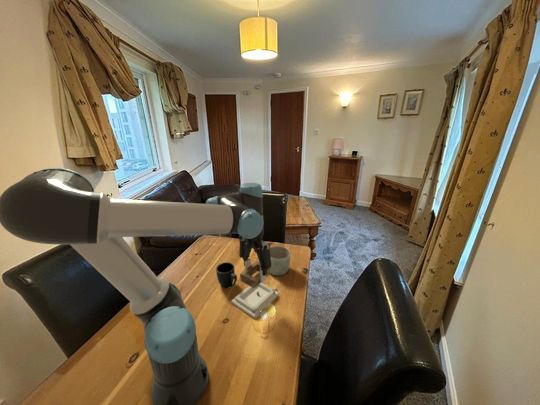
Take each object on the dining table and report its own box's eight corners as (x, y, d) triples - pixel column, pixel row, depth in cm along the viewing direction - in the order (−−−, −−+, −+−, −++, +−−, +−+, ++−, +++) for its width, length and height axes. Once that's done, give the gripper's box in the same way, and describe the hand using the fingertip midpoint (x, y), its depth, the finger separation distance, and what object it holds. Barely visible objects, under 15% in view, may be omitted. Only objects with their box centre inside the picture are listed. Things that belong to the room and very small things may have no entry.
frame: (254, 288, 80) (253, 280, 79) (240, 281, 84) (240, 273, 83) (270, 274, 88) (270, 266, 87) (256, 267, 92) (256, 261, 91)
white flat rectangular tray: (254, 318, 84) (254, 313, 83) (231, 302, 91) (231, 297, 90) (278, 294, 96) (278, 290, 95) (256, 282, 103) (256, 278, 102)
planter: (290, 264, 117) (291, 247, 113) (288, 279, 105) (289, 260, 102) (268, 262, 119) (268, 244, 115) (263, 276, 107) (263, 257, 104)
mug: (228, 297, 94) (227, 280, 91) (214, 284, 102) (212, 267, 99) (243, 288, 99) (242, 271, 96) (229, 276, 107) (227, 260, 104)
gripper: (281, 228, 75) (281, 281, 83) (240, 215, 87) (243, 263, 95) (268, 237, 70) (270, 293, 78) (226, 222, 81) (231, 272, 89)
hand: (255, 277), depth 86 cm, fingers closed on frame, 7 cm apart
